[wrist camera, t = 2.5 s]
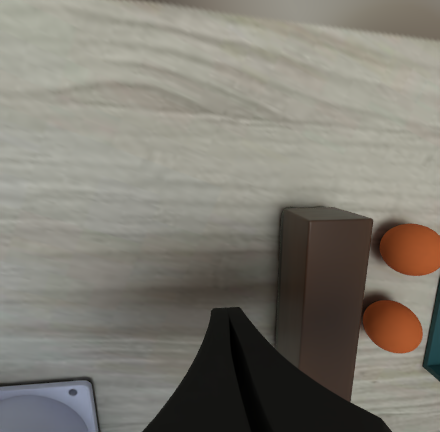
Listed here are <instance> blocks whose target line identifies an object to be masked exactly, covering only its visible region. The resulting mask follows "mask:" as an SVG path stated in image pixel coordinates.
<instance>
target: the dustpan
mask: <svg viewBox="0 0 440 432" xmlns="http://www.w3.org/2000/svg"><path fill="white" fill-rule="evenodd" d="M423 367H424V368H425V369H426V370H427V371H428V372H430V373H431V374H432V375H433V376H434V377H435V378H436V379H437V380H438V381H440V282H439V287H438V292H437V297H436V302H435V307H434V312H433V318H432V323H431V328H430V333H429V338H428V343H427V348H426V353H425V359H424V364H423Z"/></svg>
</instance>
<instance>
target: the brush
mask: <svg viewBox="0 0 440 432" xmlns="http://www.w3.org/2000/svg"><path fill="white" fill-rule="evenodd" d="M372 227H373V219H371V218H368V217H365V216H361V215H358V214H355V213H351V212H348V211H344V210H341V209H338V208H334V207H317V208H294V207H290V208H286V209H284V211H283V213H282V215H281V233H280V256H279V278H278V301H277V324H276V350H277V351H278V352H279V353H280V354H281V355H282V356H283V357H285V358H286V359H287V360H288V361H289V362H291V363H292V364H293V365H294V366H295V367H297V368H298V369H299V370H301V371H302V372H303V373H305V374H306V375H308V376H309V377H310V378H312V379H313V380H315V381H316V382H318V383H319V384H321V385H322V386H324V387H325V388H327V389H328V390H330V391H332V392H333V393H335V394H337V395H338V396H340V397H342V398H343V399H345V400H347V401H349V402H350V401H351V394H352V386H353V378H354V370H355V362H356V354H357V346H358V338H359V330H360V322H361V314H362V306H363V298H364V290H365V282H366V274H367V266H368V258H369V250H370V243H371V235H372Z"/></svg>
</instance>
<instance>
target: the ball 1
mask: <svg viewBox="0 0 440 432" xmlns="http://www.w3.org/2000/svg"><path fill="white" fill-rule="evenodd" d="M380 253H381V256H382V258H383V260H384V261H385V262H386V264H387V265H388V266H390V267H391V268H392V269H394V270H395V271H397V272H400V273H402V274H406V275H411V276H421V275H426V274H429V273H432V272H434V271H436V270H437V269H438V268H439V267H440V236H439V235H438V234H437V233H436V232H435V231H433V230H432V229H430V228H428V227H425V226H422V225H418V224H402V225H398V226H395V227H393V228H391V229H390V230H388V231H387V232H386V233H385V234H384V236H383V237H382V239H381V242H380Z"/></svg>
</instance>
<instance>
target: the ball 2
mask: <svg viewBox="0 0 440 432" xmlns="http://www.w3.org/2000/svg"><path fill="white" fill-rule="evenodd" d="M363 325H364V329H365V331H366V333H367V335H368V336H369V338H370V339H371V340H372V341H373V342H374V343H375V344H376V345H378V346H379V347H381V348H382V349H384V350H387V351H389V352H393V353H407V352H410V351H412V350H414V349H415V348H417V347H418V345H419V344H420V342H421V340H422V335H423V332H422V326H421V323H420V321H419V320H418V318H417V317H416V315H415V314H414V313H413V312H412V311H411V310H410V309H409V308H407V307H406V306H404V305H402V304H400V303H398V302H395V301H390V300H380V301H376V302H374V303H372V304H371V305H369V306H368V307H367V309H366V310H365V312H364V315H363Z"/></svg>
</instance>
